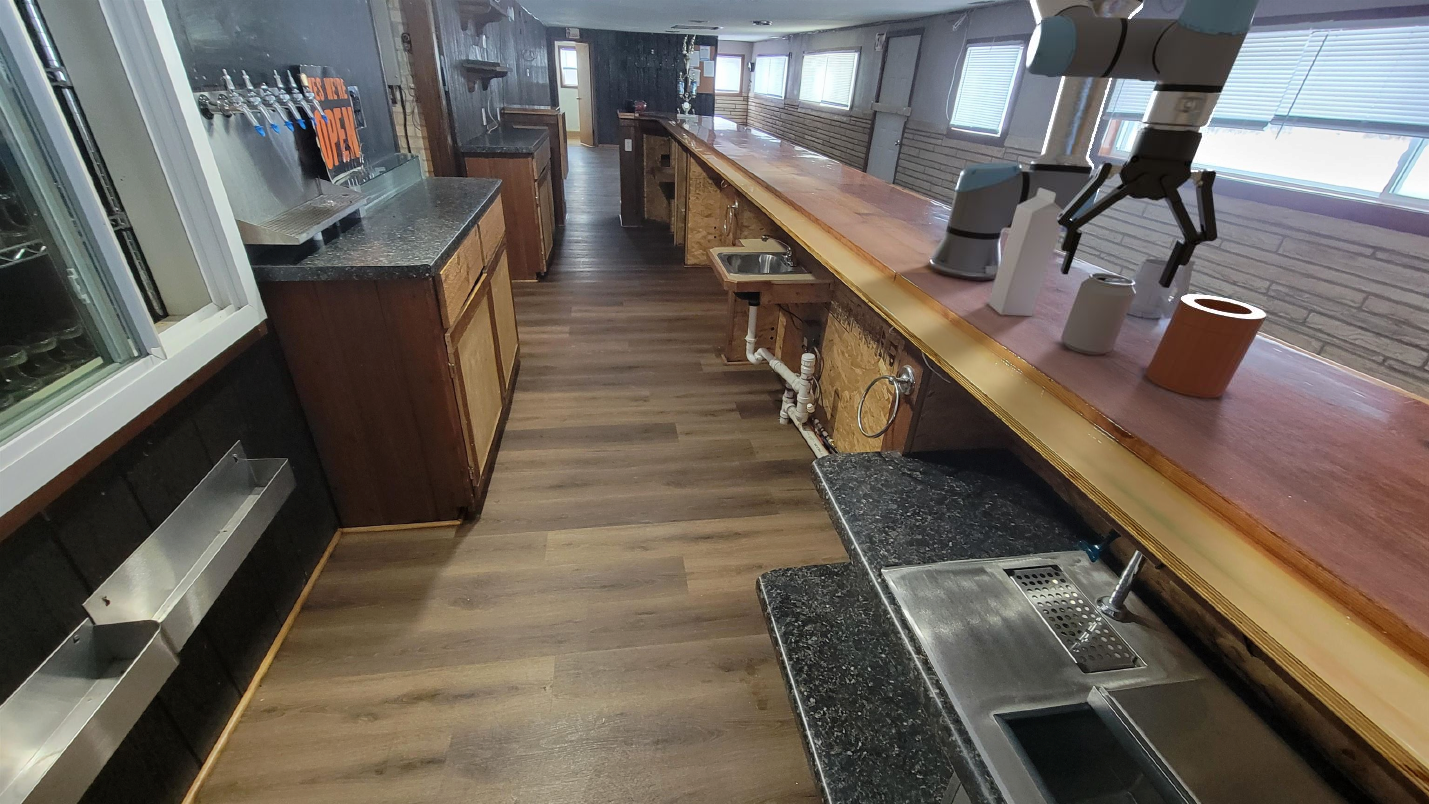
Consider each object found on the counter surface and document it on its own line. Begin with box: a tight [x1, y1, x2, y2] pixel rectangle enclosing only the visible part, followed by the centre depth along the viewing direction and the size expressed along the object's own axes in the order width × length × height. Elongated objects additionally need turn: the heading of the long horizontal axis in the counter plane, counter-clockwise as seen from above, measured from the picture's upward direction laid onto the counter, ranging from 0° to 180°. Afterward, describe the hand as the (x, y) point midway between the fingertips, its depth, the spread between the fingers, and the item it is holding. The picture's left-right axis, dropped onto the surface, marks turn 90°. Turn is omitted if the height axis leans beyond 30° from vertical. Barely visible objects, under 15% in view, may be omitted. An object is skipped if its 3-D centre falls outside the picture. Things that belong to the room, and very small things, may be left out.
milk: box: [987, 188, 1063, 317], centre depth 103 cm, size 6×6×22 cm
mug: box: [1127, 257, 1196, 320], centre depth 106 cm, size 8×12×12 cm, turn 4°
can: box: [1060, 272, 1136, 356], centre depth 91 cm, size 8×8×12 cm
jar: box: [1145, 294, 1267, 399], centre depth 81 cm, size 9×9×12 cm
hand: (1112, 279), depth 88 cm, fingers open, 13 cm apart
